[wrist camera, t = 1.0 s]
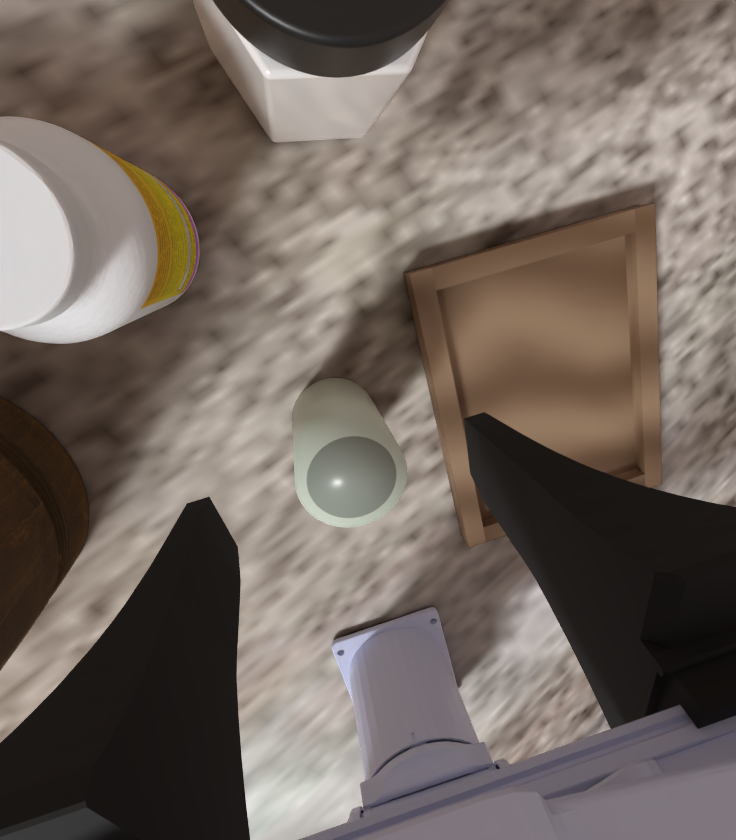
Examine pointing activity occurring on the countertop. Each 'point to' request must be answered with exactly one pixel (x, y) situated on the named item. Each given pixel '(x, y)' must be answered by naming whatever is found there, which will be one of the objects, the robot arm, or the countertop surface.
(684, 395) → the countertop surface
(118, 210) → the supplement bottle
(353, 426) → the cup
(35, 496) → the wooden container
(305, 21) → the jar
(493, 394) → the tray
